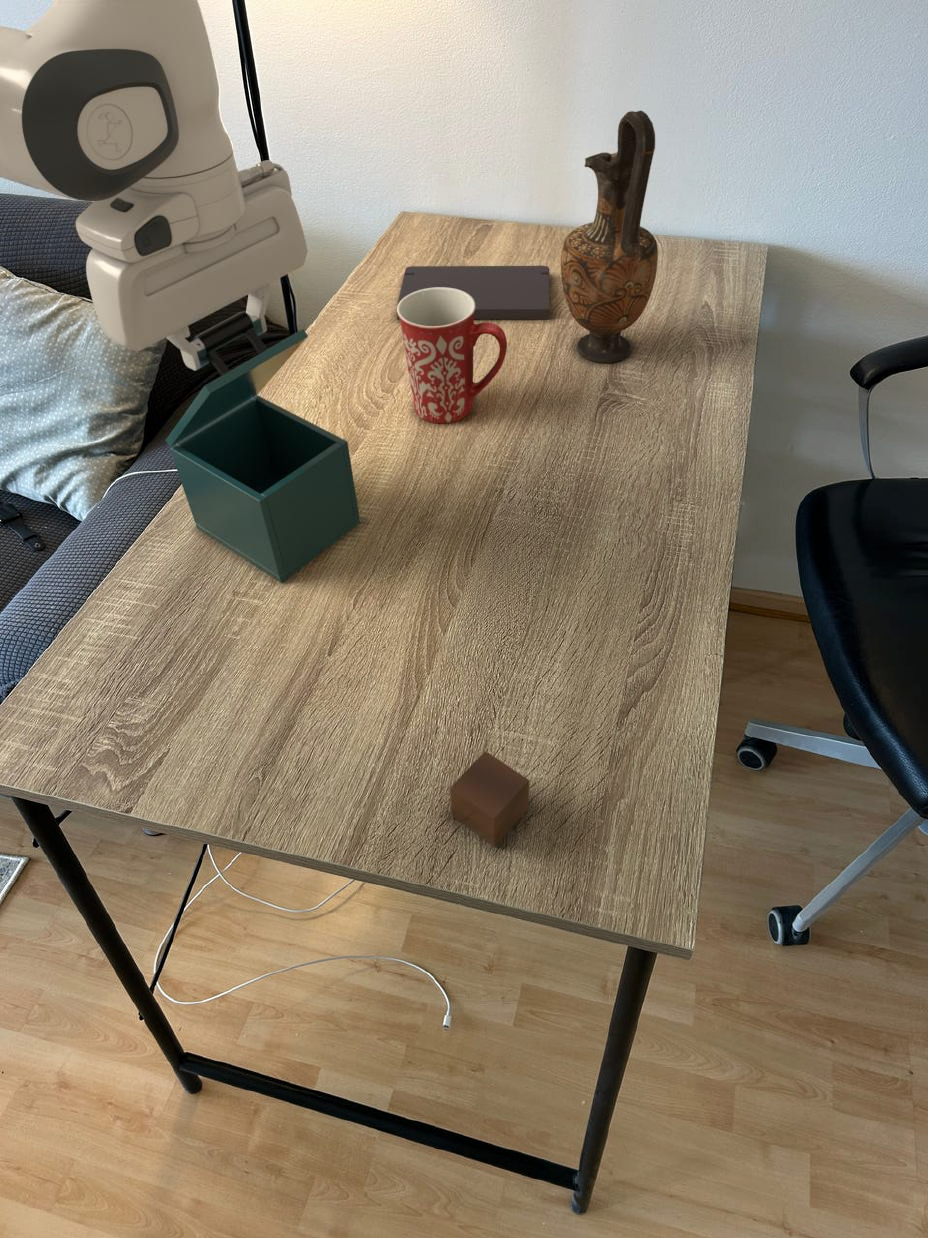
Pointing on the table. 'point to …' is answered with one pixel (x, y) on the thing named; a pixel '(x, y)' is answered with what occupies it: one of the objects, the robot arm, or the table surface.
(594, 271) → the vase
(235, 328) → the lid
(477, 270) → the notebook
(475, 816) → the block
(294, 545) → the teal open-top bin
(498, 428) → the table surface
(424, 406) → the mug
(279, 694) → the table surface
